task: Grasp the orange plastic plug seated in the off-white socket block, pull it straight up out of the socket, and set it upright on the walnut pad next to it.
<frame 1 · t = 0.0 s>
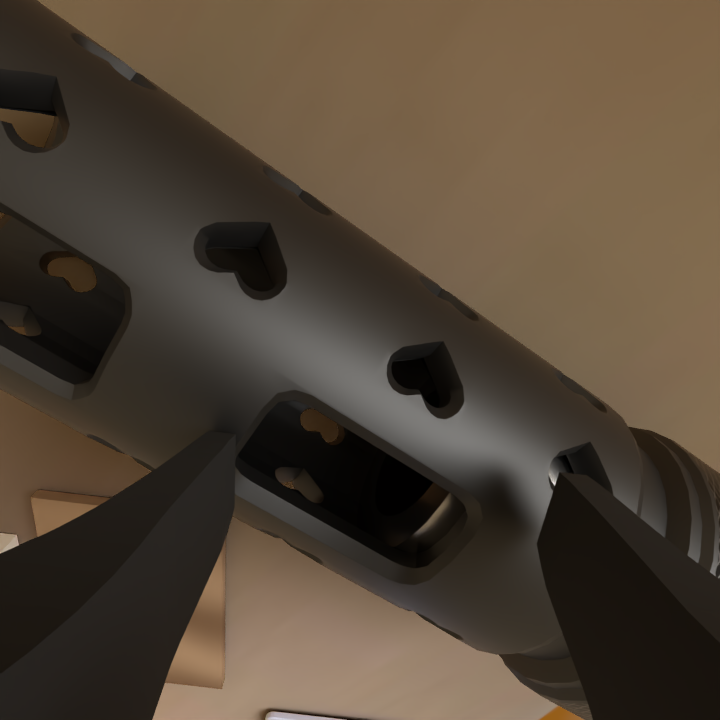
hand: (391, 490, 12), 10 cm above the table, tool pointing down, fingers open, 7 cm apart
muzzle brake: (384, 353, 22), on the table
pad: (139, 592, 27), on the table
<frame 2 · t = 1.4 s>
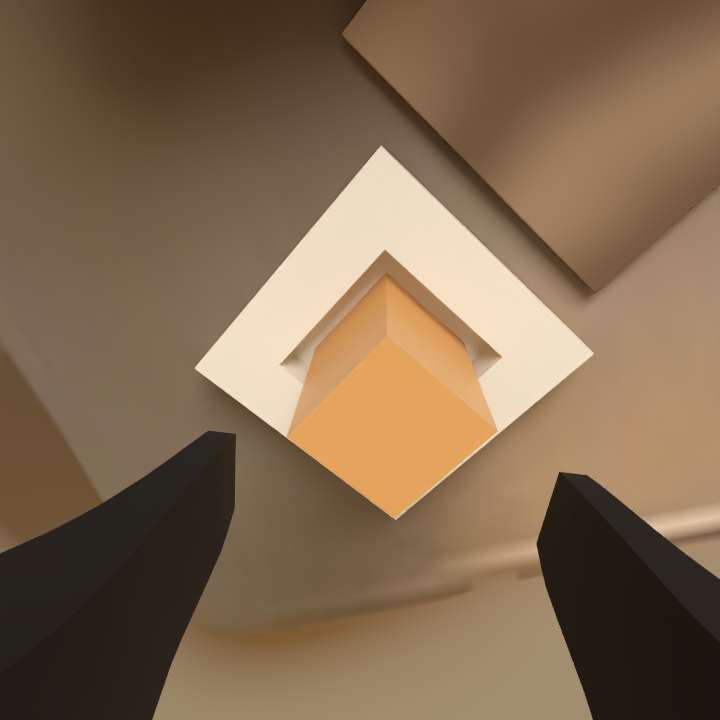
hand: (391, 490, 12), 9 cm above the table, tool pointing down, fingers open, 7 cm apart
socket block: (388, 340, 20), on the table
plug: (389, 344, 20), resting on socket block
pad: (582, 58, 16), on the table
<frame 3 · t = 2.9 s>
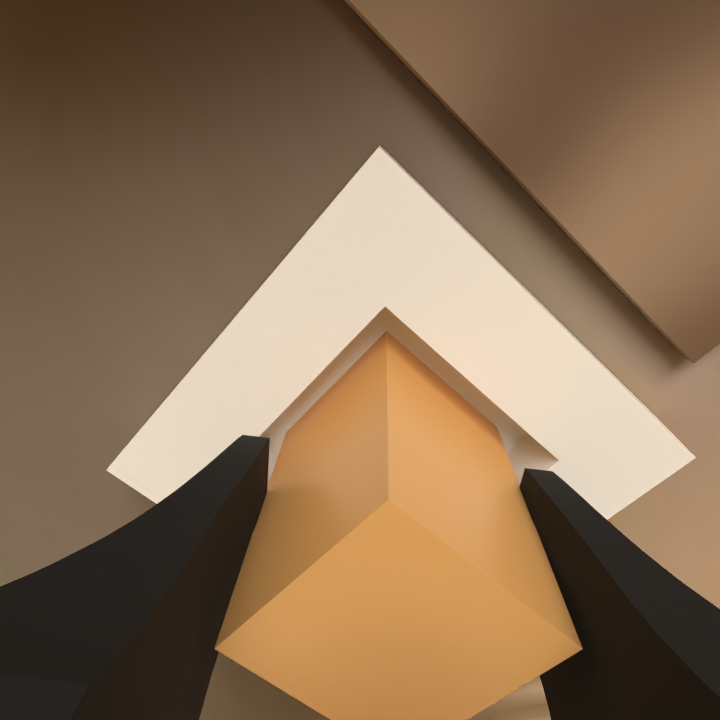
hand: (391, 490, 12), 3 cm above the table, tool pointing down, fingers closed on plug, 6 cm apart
socket block: (390, 422, 14), on the table
plug: (390, 429, 14), resting on socket block, touching gripper
pad: (696, 10, 10), on the table
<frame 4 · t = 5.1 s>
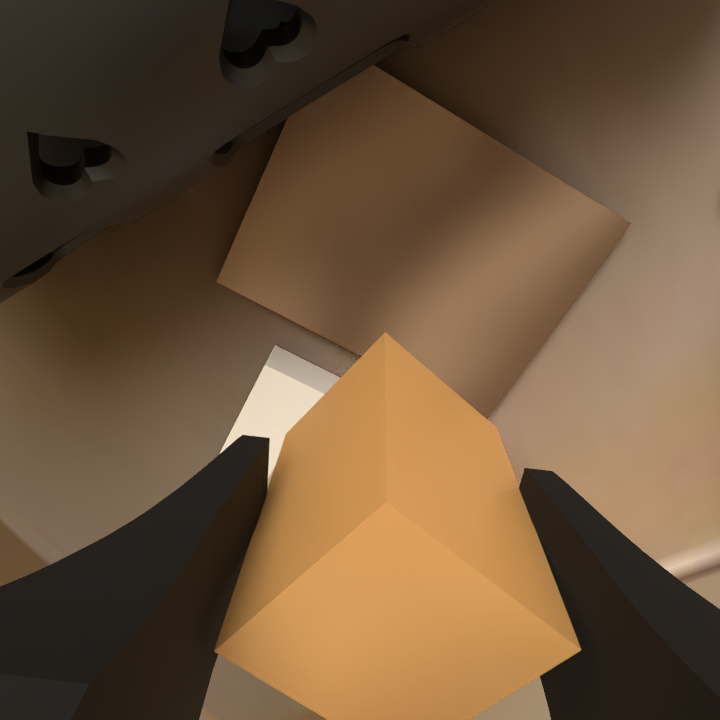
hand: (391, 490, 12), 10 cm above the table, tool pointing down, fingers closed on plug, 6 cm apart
socket block: (328, 484, 24), on the table
plug: (389, 430, 14), point 7 cm above the table, touching gripper
pad: (415, 250, 19), on the table
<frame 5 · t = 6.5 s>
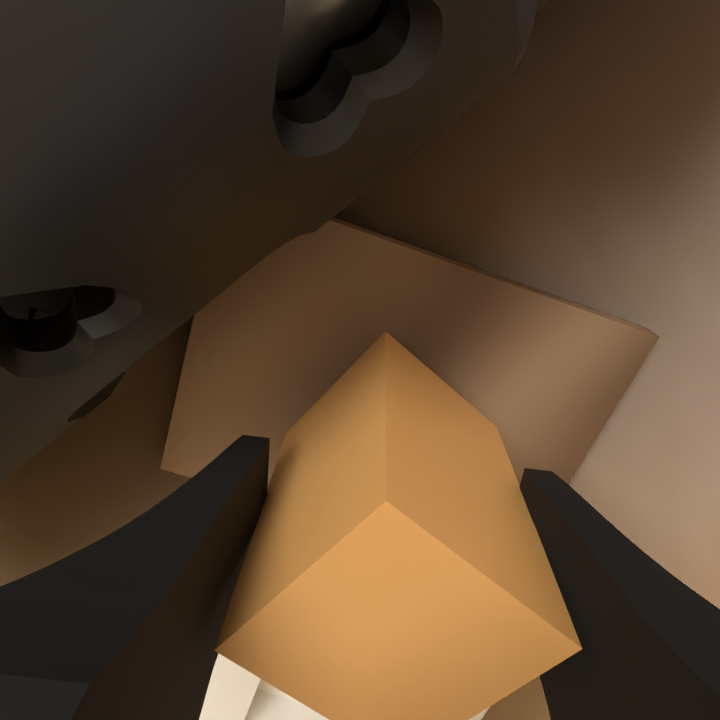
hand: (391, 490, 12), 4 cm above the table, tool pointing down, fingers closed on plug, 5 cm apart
socket block: (340, 651, 20), on the table
plug: (390, 430, 14), point 2 cm above the table, touching gripper
pad: (389, 398, 16), on the table
when the fingers open (4 cm above the table, at t = 7.4 s): plug drops 1 cm, resting on pad.
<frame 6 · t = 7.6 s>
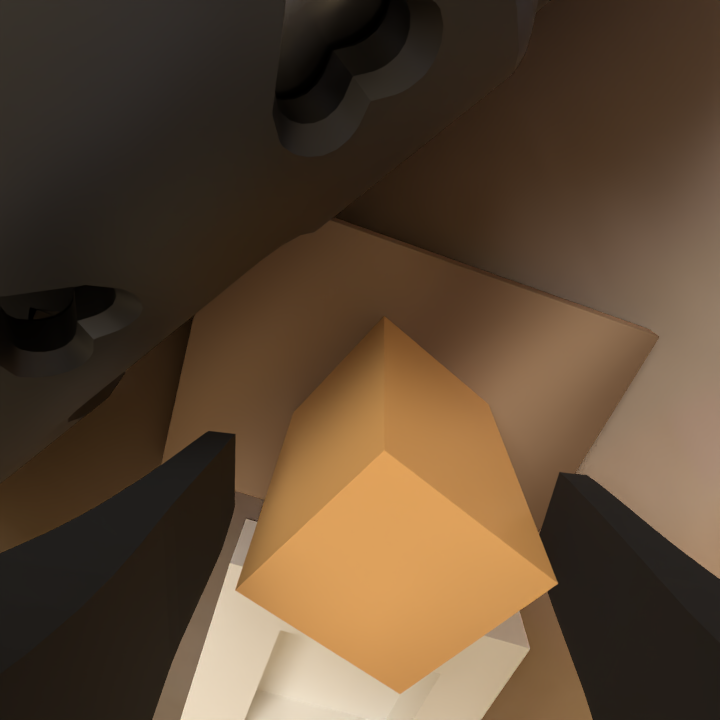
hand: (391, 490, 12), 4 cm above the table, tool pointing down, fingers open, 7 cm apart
socket block: (340, 651, 20), on the table
plug: (389, 408, 15), point 1 cm above the table, touching pad
pad: (389, 398, 16), on the table
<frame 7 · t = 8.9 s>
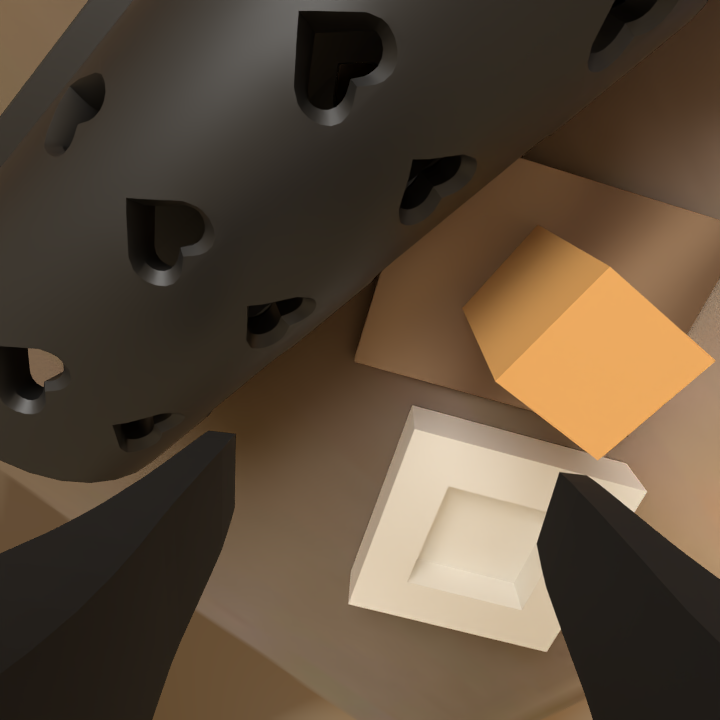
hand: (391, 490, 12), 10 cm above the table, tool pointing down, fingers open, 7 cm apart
socket block: (479, 520, 25), on the table
plug: (537, 300, 20), point 1 cm above the table, touching pad
pad: (533, 295, 20), on the table
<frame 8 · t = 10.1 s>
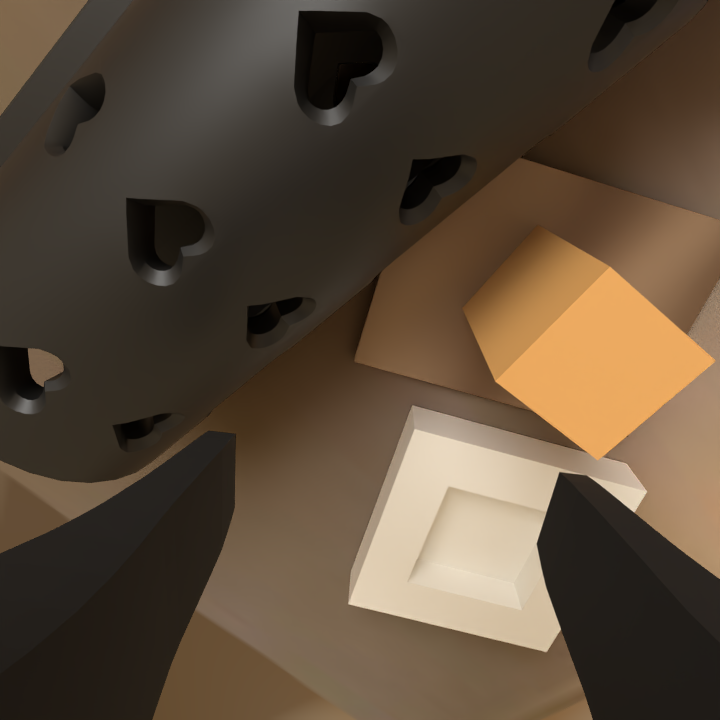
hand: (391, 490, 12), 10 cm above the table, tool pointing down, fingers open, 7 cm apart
socket block: (479, 520, 25), on the table
plug: (537, 300, 20), point 1 cm above the table, touching pad
pad: (533, 295, 20), on the table
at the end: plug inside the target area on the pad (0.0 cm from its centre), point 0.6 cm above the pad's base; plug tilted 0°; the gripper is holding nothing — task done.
